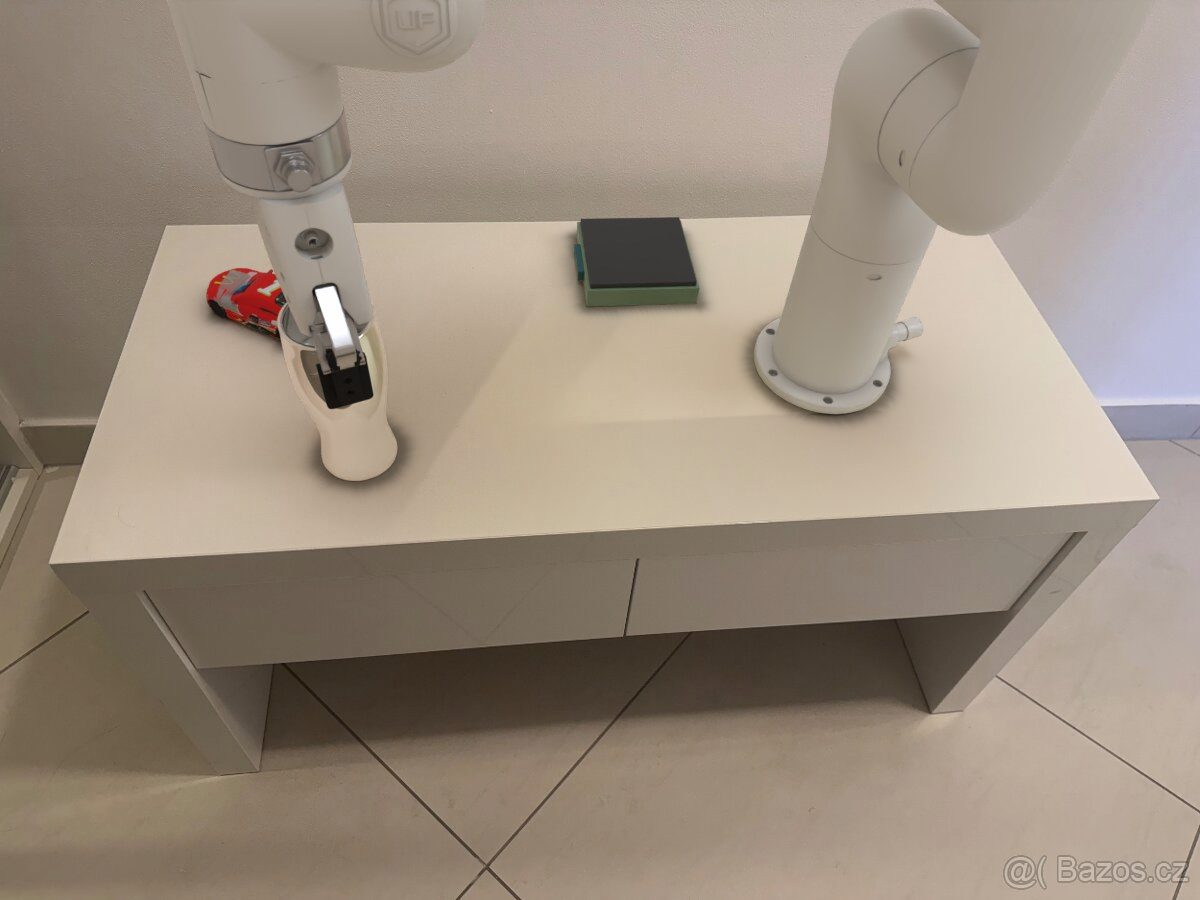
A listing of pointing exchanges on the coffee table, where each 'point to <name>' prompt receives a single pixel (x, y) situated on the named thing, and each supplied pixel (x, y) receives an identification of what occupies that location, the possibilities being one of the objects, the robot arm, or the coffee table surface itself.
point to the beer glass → (351, 432)
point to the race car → (248, 298)
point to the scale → (634, 262)
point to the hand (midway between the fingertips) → (332, 355)
